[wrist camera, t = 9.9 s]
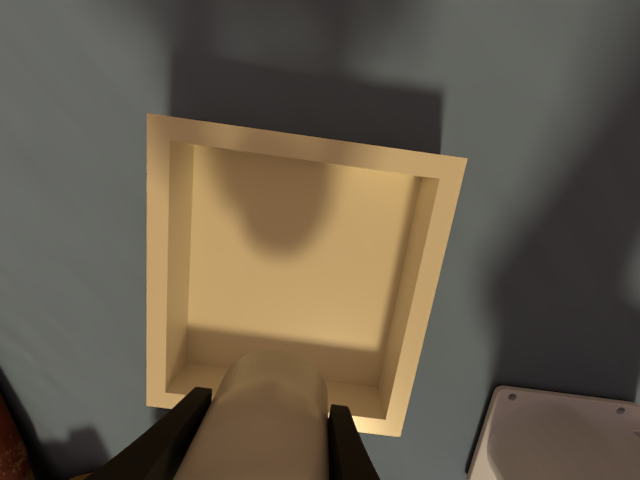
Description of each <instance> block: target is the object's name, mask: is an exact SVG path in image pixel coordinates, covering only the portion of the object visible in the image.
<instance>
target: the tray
mask: <svg viewBox="0 0 640 480" xmlns="http://www.w3.org/2000/svg"><path fill="white" fill-rule="evenodd" d="M466 163H467V158H460V157H453V156H445V155H438V154H431V153H424V152H417V151H410V150H403V149H396V148H389V147H382V146H375V145H368V144H361V143H354V142H347V141H340V140H333V139H326V138H319V137H311V136H304V135H297V134H290V133H283V132H276V131H269V130H262V129H255V128H248V127H241V126H234V125H227V124H220V123H213V122H206V121H199V120H192V119H185V118H177V117H170V116H163V115H156V114H149V113H147V406H152V407H160V408H168V409H172V408H173V407H174V406H175V405H176V404H177V403H179V402H180V401H181V400H182V399H183V398H184V397H185V396H186V395H187V394H188V393H189V392H190V391H191V390H192V389H193V388H195V387H203V388H211V389H212V400H213V398H214V396H215V394H216V392H217V390H218V388H219V385H220V383H221V381H222V379H223V377H224V375H225V373H226V372H227V371H228V369H229V368H230V367H231V366H232V365H233V364H234V363H235V362H236V361H237V360H239V359H240V358H242V357H244V356H246V355H248V354H250V353H253V352H257V351H262V350H281V351H286V352H290V353H293V354H295V355H298V356H300V357H302V358H303V359H305V360H307V361H308V362H309V363H311V364H312V365H313V366H314V367H315V368H316V369H317V370H318V372H319V373H320V374H321V376H322V378H323V379H324V381H325V384H326V387H327V391H328V410H329V414H330V408H331V404H335V405H343V406H348V408H349V409H350V412H351V415H352V418H353V421H354V423H355V426H356V428H357V431H358V432H363V433H371V434H380V435H388V436H396V437H400V436H401V431H402V427H403V423H404V419H405V415H406V411H407V407H408V403H409V398H410V394H411V390H412V386H413V382H414V378H415V374H416V369H417V365H418V361H419V357H420V353H421V349H422V345H423V341H424V336H425V332H426V328H427V324H428V320H429V316H430V312H431V307H432V303H433V299H434V295H435V291H436V287H437V283H438V278H439V274H440V270H441V266H442V262H443V258H444V254H445V250H446V245H447V241H448V237H449V233H450V229H451V225H452V221H453V216H454V212H455V208H456V204H457V200H458V196H459V192H460V188H461V183H462V179H463V175H464V171H465V167H466Z"/></svg>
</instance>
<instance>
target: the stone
mask: <svg viewBox="0 0 640 480" xmlns="http://www.w3.org/2000/svg"><path fill="white" fill-rule="evenodd" d="M173 480H330V478H329V410H328V391H327V387H326V384H325V381H324V379H323V378H322V376H321V374H320V373H319V372H318V370H317V369H316V368H315V367H314V366H313V365H312V364H311V363H309V362H308V361H307V360H305V359H303V358H302V357H300V356H298V355H295V354H293V353H290V352H286V351H281V350H262V351H257V352H253V353H250V354H248V355H246V356H244V357H242V358H240V359H239V360H237V361H236V362H235V363H234V364H233V365H232V366H231V367H230V368H229V369H228V371H227V372H226V373H225V375H224V377H223V379H222V381H221V383H220V385H219V388H218V390H217V392H216V394H215V396H214V398H213V400H212V402H211V404H210V406H209V408H208V410H207V412H206V414H205V416H204V418H203V420H202V422H201V424H200V426H199V428H198V430H197V432H196V434H195V436H194V438H193V440H192V442H191V444H190V446H189V448H188V450H187V452H186V454H185V456H184V458H183V460H182V462H181V465H180V467H179V469H178V471H177V473H176V475H175V477H174V479H173Z"/></svg>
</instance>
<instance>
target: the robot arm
mask: <svg viewBox="0 0 640 480" xmlns="http://www.w3.org/2000/svg"><path fill="white" fill-rule="evenodd" d="M510 394H512V395H510ZM509 395H510V396H509ZM211 402H212V389H211V388H203V387H195V388H193V389H192V390H191V391H190V392H189V393H188V394H187V395H186V396H185V397H184V398H183V399H182V400H181V401H180V402H179V403H177V404H176V405H175V406H174V407H173V408H172V409H171V410H170V411H169V412H168V413H167V414H165V415H164V416H163V417H162V418H161V419H160V420H159V421H157V422H156V423H155V424H154V425H153V426H152V427H151V428H149V429H148V430H147V431H146V432H145V433H144V434H142V435H141V436H140V437H139V438H138V439H136V440H135V441H134V442H133V443H131V444H130V445H129V446H128V447H126V448H125V449H124V450H123V451H121V452H120V453H119V454H118V455H116V456H115V457H114V458H112V459H111V460H110V461H108V462H107V463H106V464H104V465H103V466H102V467H100V468H99V469H98V470H96V471H95V472H93V473H92V474H91V475H89V476H88V477H86V478H85V479H84V480H173V479H174V477H175V475H176V473H177V471H178V469H179V467H180V465H181V462H182V460H183V458H184V456H185V454H186V452H187V450H188V448H189V446H190V444H191V442H192V440H193V438H194V436H195V434H196V432H197V430H198V428H199V426H200V424H201V422H202V420H203V418H204V416H205V414H206V412H207V410H208V408H209V406H210V404H211ZM329 478H330V480H380V478H379V476H378V474H377V472H376V470H375V468H374V466H373V464H372V462H371V460H370V458H369V456H368V454H367V452H366V449H365V447H364V445H363V443H362V441H361V438H360V436H359V433H358V431H357V428H356V426H355V423H354V421H353V418H352V415H351V412H350V409H349V408H348V406H343V405H335V404H331V408H330V414H329ZM467 480H640V406H639V405H638V404H637V403H635V402H629V401H621V400H613V399H605V398H597V397H590V396H582V395H574V394H566V393H558V392H550V391H542V390H534V389H527V388H519V387H511V386H498V387H497V388H495V390H494V392H493V395H492V398H491V402H490V405H489V408H488V411H487V414H486V417H485V421H484V424H483V427H482V430H481V433H480V436H479V439H478V443H477V446H476V449H475V452H474V455H473V458H472V462H471V465H470V468H469V471H468V474H467Z"/></svg>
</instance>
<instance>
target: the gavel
mask: <svg viewBox="0 0 640 480" xmlns="http://www.w3.org/2000/svg"><path fill="white" fill-rule="evenodd" d="M91 474H92V473H88V474H83V475H79V476H76V477H74V478H72V479H70V480H84V479H85V478H86V477H88V476H89V475H91ZM0 480H36V479H35V477H34V475H33V472H32V470H31V468H30V463H29V457H28V451H27V449H26V446H25V444H24V442H23V440H22V438H21V436H20V434H19V431H18V429H17V427H16V425H15V423H14V421H13V419H12V416H11V414H10V412H9V410H8V408H7V406H6V404H5V401H4V399H3V397H2V395H1V393H0Z"/></svg>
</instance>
